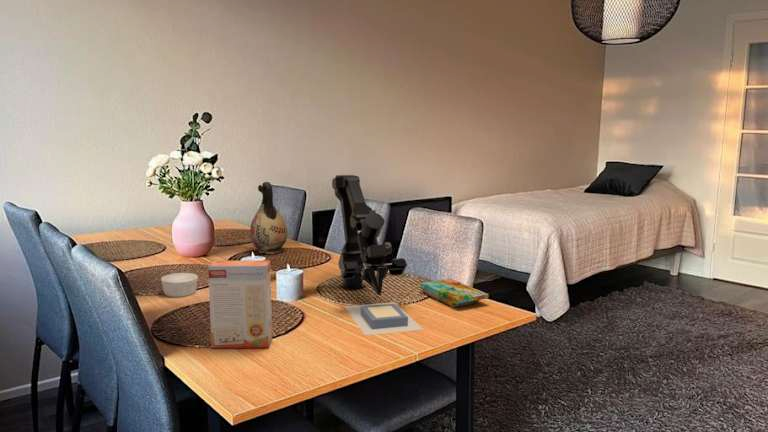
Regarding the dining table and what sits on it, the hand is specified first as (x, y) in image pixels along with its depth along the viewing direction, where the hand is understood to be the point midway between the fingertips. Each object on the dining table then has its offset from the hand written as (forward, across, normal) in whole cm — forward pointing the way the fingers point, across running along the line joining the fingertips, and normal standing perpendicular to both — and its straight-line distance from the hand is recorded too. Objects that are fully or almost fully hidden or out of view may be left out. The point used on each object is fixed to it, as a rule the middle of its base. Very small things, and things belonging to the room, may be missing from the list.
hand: (379, 294), depth 163 cm
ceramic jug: (-57, -21, +67) cm, 91 cm away
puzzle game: (-2, +27, +12) cm, 30 cm away
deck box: (+2, 0, +5) cm, 5 cm away
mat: (+6, 0, +3) cm, 7 cm away
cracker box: (+12, -39, -3) cm, 41 cm away
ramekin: (-22, -55, +32) cm, 67 cm away
